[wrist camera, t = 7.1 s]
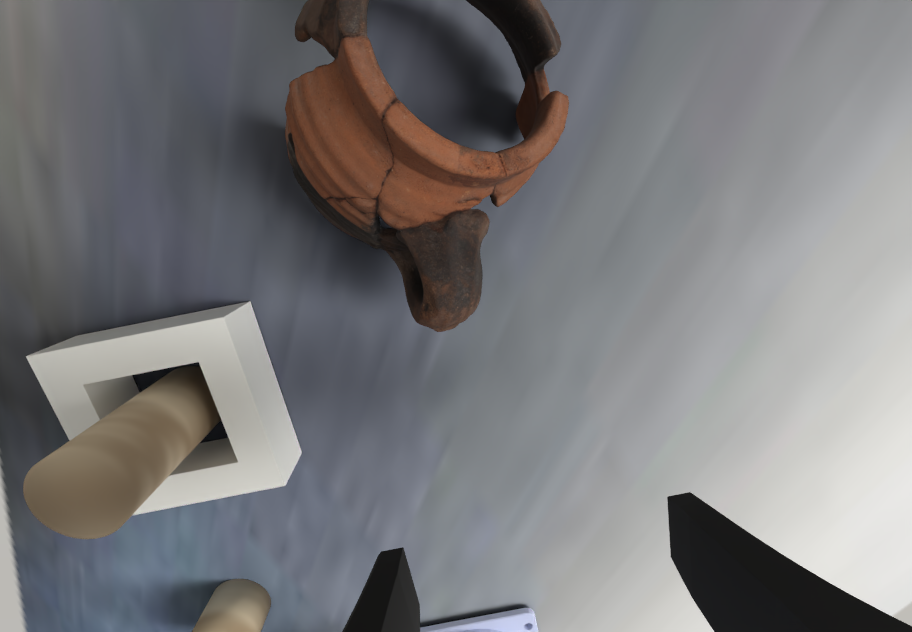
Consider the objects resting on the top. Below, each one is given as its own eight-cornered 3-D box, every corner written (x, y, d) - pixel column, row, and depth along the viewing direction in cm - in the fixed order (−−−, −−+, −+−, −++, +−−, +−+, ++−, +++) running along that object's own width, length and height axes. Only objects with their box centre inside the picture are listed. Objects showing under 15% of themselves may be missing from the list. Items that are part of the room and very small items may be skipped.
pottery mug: (249, 69, 17) (244, -151, 10) (454, 70, 21) (562, -84, 14) (327, 358, 17) (382, 360, 10) (515, 305, 22) (653, 278, 14)
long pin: (240, 418, 21) (146, 527, 14) (177, 433, 21) (54, 548, 14) (214, 359, 20) (101, 444, 13) (148, 374, 20) (3, 467, 13)
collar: (302, 452, 21) (285, 485, 19) (146, 482, 22) (110, 519, 19) (250, 301, 19) (223, 317, 17) (76, 335, 19) (25, 356, 17)
